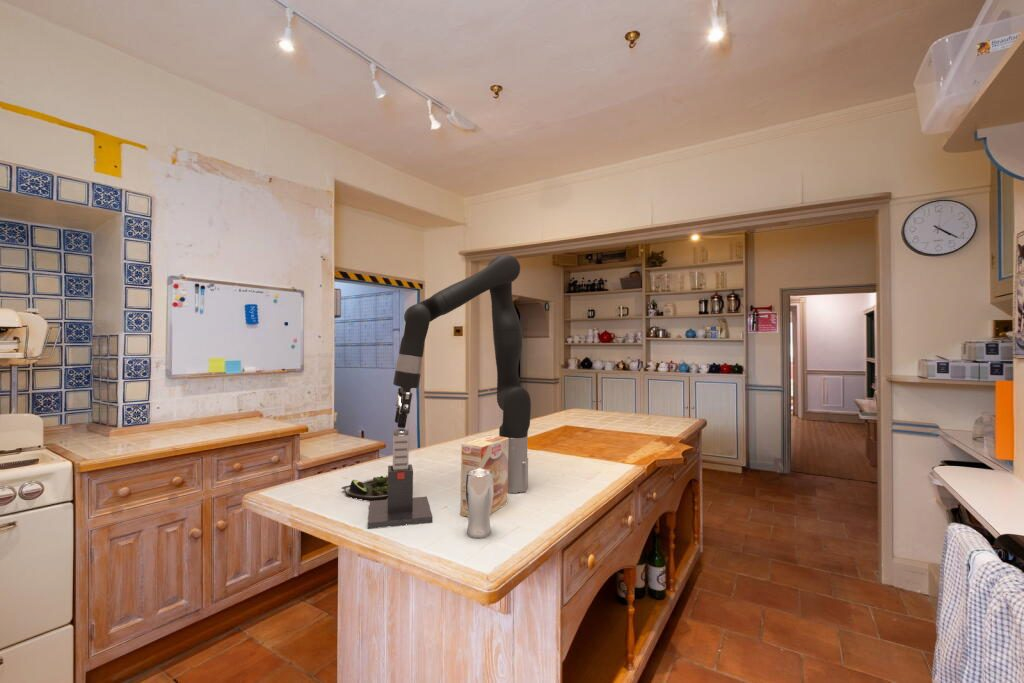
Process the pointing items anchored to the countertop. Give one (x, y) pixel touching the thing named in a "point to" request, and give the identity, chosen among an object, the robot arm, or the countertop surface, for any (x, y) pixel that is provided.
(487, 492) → the beer glass
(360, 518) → the countertop surface
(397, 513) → the stand
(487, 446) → the coffeecake box
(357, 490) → the salad plate
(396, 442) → the column
